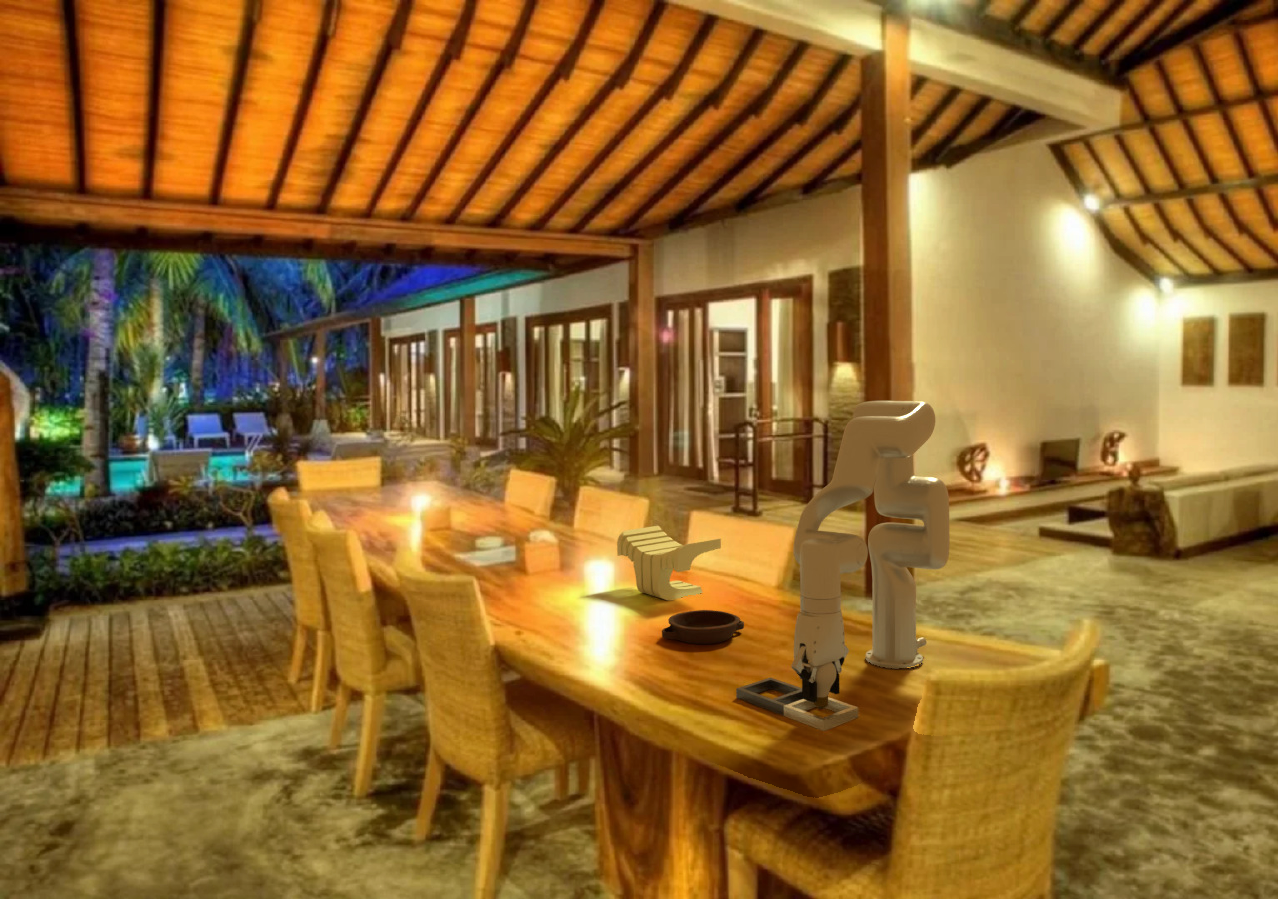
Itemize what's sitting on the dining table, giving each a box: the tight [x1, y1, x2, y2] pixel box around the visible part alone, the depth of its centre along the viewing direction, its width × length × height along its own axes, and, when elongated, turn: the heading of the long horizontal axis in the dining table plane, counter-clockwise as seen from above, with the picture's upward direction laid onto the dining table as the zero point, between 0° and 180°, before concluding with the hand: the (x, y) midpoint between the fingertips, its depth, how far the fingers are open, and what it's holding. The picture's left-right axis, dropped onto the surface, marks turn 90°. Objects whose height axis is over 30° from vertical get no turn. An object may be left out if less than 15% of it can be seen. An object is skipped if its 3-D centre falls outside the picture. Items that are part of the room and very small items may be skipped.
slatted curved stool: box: [616, 525, 722, 601], centre depth 275 cm, size 30×16×18 cm, turn 36°
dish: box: [661, 609, 745, 645], centre depth 231 cm, size 18×22×5 cm
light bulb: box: [807, 662, 836, 710], centre depth 177 cm, size 6×6×10 cm
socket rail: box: [735, 677, 859, 732], centre depth 182 cm, size 10×23×2 cm, turn 38°
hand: (820, 695), depth 177 cm, fingers closed on light bulb, 5 cm apart
